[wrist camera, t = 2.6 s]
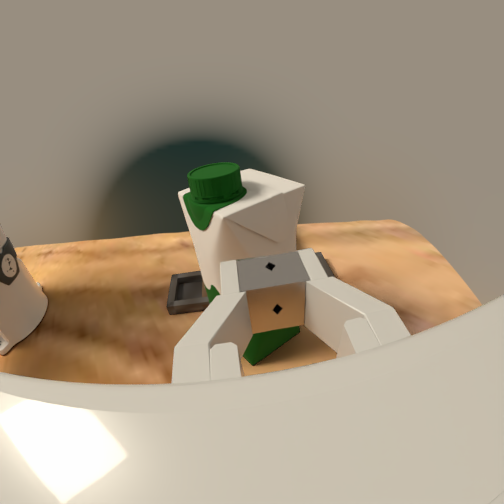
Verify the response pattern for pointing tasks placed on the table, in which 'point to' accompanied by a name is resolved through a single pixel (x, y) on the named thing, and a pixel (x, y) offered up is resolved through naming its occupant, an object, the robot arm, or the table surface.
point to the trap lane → (201, 290)
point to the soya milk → (241, 228)
